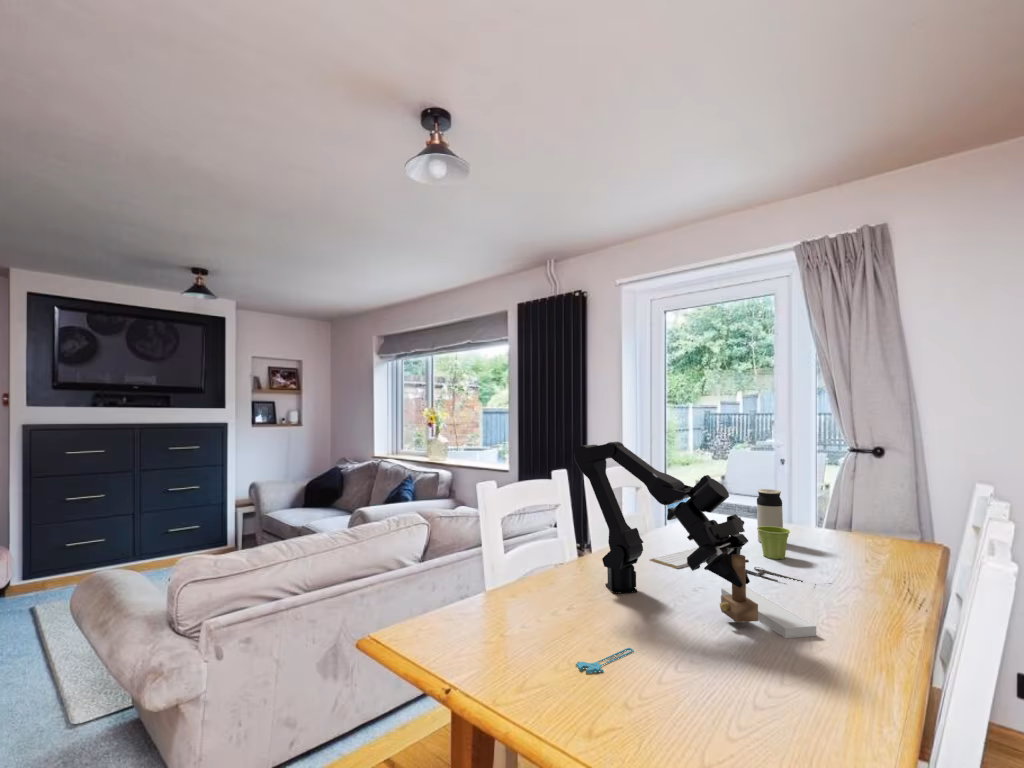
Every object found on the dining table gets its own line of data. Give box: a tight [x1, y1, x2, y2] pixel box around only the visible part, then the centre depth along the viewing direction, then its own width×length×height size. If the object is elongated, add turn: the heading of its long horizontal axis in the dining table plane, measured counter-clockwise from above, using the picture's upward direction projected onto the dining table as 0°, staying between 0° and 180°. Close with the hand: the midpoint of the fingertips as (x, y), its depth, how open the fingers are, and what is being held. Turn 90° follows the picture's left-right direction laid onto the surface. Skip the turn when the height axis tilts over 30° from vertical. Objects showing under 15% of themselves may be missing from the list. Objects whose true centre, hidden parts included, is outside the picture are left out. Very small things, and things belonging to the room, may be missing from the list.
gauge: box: [719, 553, 759, 623], centre depth 113 cm, size 7×6×13 cm
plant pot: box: [756, 526, 791, 560], centre depth 163 cm, size 9×9×9 cm
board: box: [720, 586, 817, 639], centre depth 118 cm, size 7×24×2 cm, turn 8°
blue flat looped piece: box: [575, 647, 635, 674], centre depth 97 cm, size 14×1×5 cm
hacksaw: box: [746, 566, 804, 583], centre depth 143 cm, size 24×10×2 cm, turn 36°
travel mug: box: [756, 488, 784, 543], centre depth 181 cm, size 8×8×18 cm
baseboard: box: [649, 546, 706, 570], centre depth 165 cm, size 31×3×12 cm
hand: (745, 584), depth 112 cm, fingers closed on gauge, 3 cm apart
